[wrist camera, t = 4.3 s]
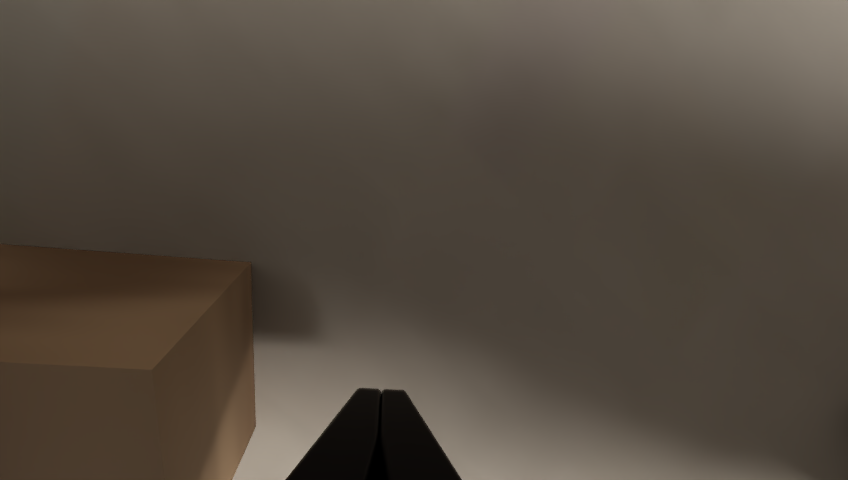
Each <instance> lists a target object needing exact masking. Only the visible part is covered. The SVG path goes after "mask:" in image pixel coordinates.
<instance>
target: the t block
mask: <svg viewBox="0 0 848 480" xmlns="http://www.w3.org/2000/svg"><path fill="white" fill-rule="evenodd" d="M255 427H256V420H255V385H254V351H253V316H252V281H251V262H240V261H226V260H212V259H198V258H185V257H171V256H157V255H143V254H130V253H116V252H102V251H88V250H74V249H61V248H47V247H33V246H19V245H5V244H0V480H232V479H233V477H234V474H235V472H236V470H237V468H238V465H239V463H240V461H241V459H242V456H243V454H244V452H245V450H246V447H247V445H248V443H249V441H250V438H251V436H252V434H253V432H254V429H255Z"/></svg>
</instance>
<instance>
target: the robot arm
mask: <svg viewBox="0 0 848 480" xmlns="http://www.w3.org/2000/svg"><path fill="white" fill-rule="evenodd" d="M286 480H462V479H461V478H460V476H459V475H458V473H457V472H456V470H455V468H454V467H453V465H452V464H451V462H450V461H449V459H448V457H447V456H446V454H445V453H444V451H443V450H442V448H441V446H440V445H439V443H438V442H437V440H436V439H435V437H434V436H433V434H432V432H431V431H430V429H429V428H428V426H427V425H426V423H425V421H424V420H423V418H422V417H421V415H420V414H419V412H418V410H417V409H416V407H415V406H414V404H413V403H412V401H411V399H410V398H409V396H408V395H407V393H406V392H405V391H404V390H392V389H384V390H383V391H382V393H381V391H380V390H379V389H371V388H359V389H357V390H356V391H355V393H354V394H353V395H352V396H351V398H350V399H349V400H348V401H347V403H346V404H345V405H344V407H343V408H342V409H341V410H340V412H339V413H338V414H337V415H336V417H335V418H334V419H333V420H332V422H331V423H330V424H329V425H328V427H327V428H326V429H325V431H324V432H323V433H322V434H321V436H320V437H319V438H318V439H317V441H316V442H315V443H314V444H313V446H312V447H311V448H310V450H309V451H308V452H307V453H306V455H305V456H304V457H303V458H302V460H301V461H300V462H299V463H298V465H297V466H296V467H295V469H294V470H293V471H292V472H291V474H290V475H289V476H288V477H287V479H286Z"/></svg>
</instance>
